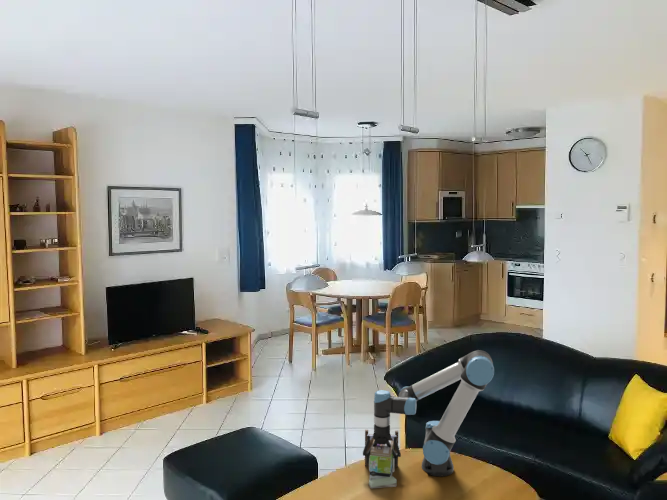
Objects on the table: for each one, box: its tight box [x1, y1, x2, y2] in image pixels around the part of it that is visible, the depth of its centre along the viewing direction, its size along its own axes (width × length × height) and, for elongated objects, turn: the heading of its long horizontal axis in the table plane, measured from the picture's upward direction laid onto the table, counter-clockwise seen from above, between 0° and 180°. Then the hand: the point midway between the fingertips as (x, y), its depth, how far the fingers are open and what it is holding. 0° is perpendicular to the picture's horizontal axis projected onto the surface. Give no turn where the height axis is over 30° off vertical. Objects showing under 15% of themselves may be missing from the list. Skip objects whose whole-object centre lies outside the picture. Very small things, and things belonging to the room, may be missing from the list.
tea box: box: [368, 440, 394, 481], centre depth 260 cm, size 15×10×15 cm, turn 169°
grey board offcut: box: [368, 483, 398, 489], centre depth 250 cm, size 12×4×2 cm, turn 99°
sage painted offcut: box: [368, 475, 397, 487], centre depth 249 cm, size 12×4×2 cm, turn 109°
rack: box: [364, 429, 399, 468], centre depth 269 cm, size 16×2×18 cm, turn 85°
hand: (381, 470), depth 260 cm, fingers closed on tea box, 10 cm apart
